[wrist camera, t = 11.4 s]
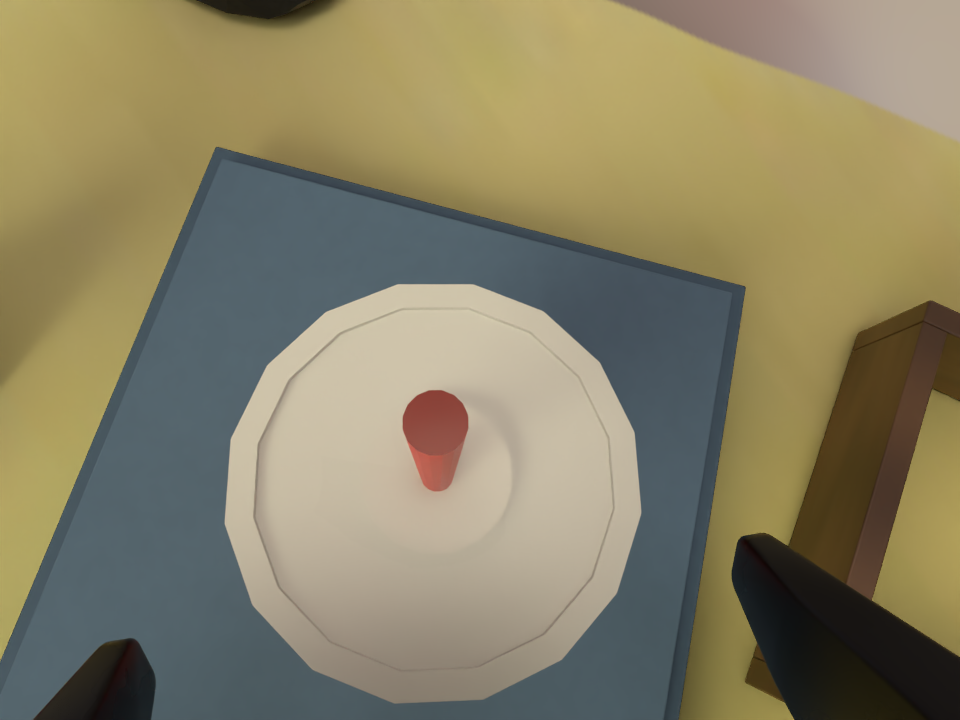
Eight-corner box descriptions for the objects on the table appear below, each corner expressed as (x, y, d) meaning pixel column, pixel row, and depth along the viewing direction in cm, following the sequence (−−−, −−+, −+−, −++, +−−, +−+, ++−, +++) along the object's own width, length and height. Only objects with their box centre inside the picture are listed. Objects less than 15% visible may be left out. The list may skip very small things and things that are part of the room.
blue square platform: (625, 883, 18) (654, 938, 16) (15, 720, 18) (-50, 750, 16) (720, 306, 23) (754, 280, 20) (234, 177, 23) (210, 136, 20)
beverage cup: (528, 633, 17) (849, 1023, 4) (304, 594, 17) (-191, 849, 4) (559, 414, 19) (863, 131, 5) (354, 376, 19) (139, -9, 5)
